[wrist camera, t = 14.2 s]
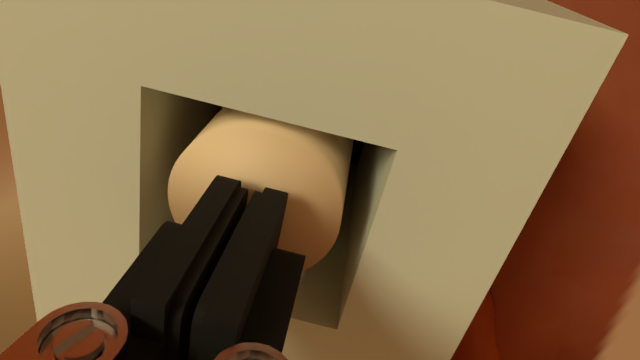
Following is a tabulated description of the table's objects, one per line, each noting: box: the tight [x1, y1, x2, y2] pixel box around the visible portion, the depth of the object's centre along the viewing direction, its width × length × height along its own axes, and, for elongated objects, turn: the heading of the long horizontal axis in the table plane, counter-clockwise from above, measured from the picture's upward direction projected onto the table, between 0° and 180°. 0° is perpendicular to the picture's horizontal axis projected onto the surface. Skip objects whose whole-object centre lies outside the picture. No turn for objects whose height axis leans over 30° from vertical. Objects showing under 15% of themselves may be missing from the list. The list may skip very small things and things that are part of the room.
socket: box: [0, 0, 628, 360], centre depth 15 cm, size 12×12×10 cm
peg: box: [168, 107, 354, 271], centre depth 15 cm, size 4×4×10 cm
